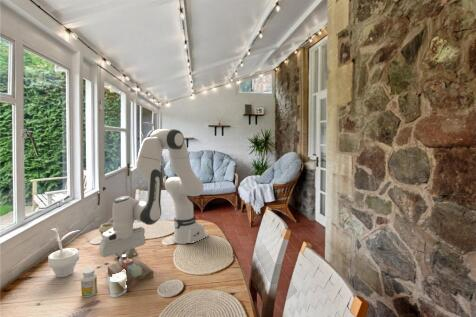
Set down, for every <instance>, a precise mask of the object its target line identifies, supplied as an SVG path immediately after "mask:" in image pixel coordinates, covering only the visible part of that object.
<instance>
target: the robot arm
mask: <svg viewBox="0 0 476 317" xmlns="http://www.w3.org/2000/svg"><path fill="white" fill-rule="evenodd" d="M163 150H168V156H169V157H168V158H169V162H170V168H171V171H172V173H174V174H175V175H176V176H172V177H171V176H170V177H168V178H166V180H165V183H164V188H165V190H166V192H167V193H168V194H169V195H170V197H171V199H172V201H173V205H174V220H173V221H174V231H173V232H174V233H173V238H172V242H173V243H175V244H179V245H187V244H186V243H194V242H196V241H198V242H200V241H202V240H204V239H206V238H208V237H209V233H208V232H207V231H205V228H204V226H203V225H202V224H201V223H199V222H197V221H199V219H200V217H199V216H194V204H193V202H192V201H191V200H190V199H189V198H188V197H198V196H200V195H202V194H203V191H204V188H205V186H204V183H203V181H202V180H201V179H200V178H198V177H197V175H196V174H195V172H194V171H193V168H192V166H191V163H190V162H191V161H190V155H189V151H188V147H187V144H186V141H185V138H184V134H183V133H182V131H180V130H178V129H175V128H174V129H172V128H160V129H157V128H156V129H152V130H150V131H148V133H147V134H146V137H145V138H144V139H143V140H142V142H141V145H140V147H139V151H138V153H137V154H138V155H137V159H136V171H137V172H138V173H139V174H140V175H141V176H142V177H143V178H144V179H145V180H146V182H147V185H148V188H147V200H146V201H145V200H141V199H135V198H133V197H131V196H129V195H123V196H119V197H117V198H115V199H114V201H113V203H112V209H111V210H112V214H111V216H112V220H113V222H112V223H113V228H111V229H109V230H108V231H106V232H104V233H102V236H101V238H102V239H101V240H100V242H99V255H100V256H101V257H103V258H106V257H109V256H113V255H115V254H116V253H118V255H119V256H120V257H119V256H118V257H119V259H120V260H121V261H122V260H125V259H129V258H128V254H129V252H130V249H133V248H134V249H136V248H139V247H141V246H145V244H146V236H145V234H146V232H145V228H144V227H143V226H139V227H134V221H139V222H142V223H143V224H145V225H148V226H151V225H152V226H153V225H154V224H156V223H157V222H158V221H159V220H160V218H161V216H162V205H161V200H162V199H161V197H162V180H163V178H162V173H161V167H160V166H161V158H162V151H163ZM207 236H208V237H207ZM205 237H206V238H205ZM203 238H204V239H203ZM201 239H202V240H201ZM199 240H200V241H199ZM193 241H194V242H193ZM196 243H197V242H196ZM194 244H195V243H194ZM123 251H126V253H125V255H121V254H122V252H123Z"/></svg>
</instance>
